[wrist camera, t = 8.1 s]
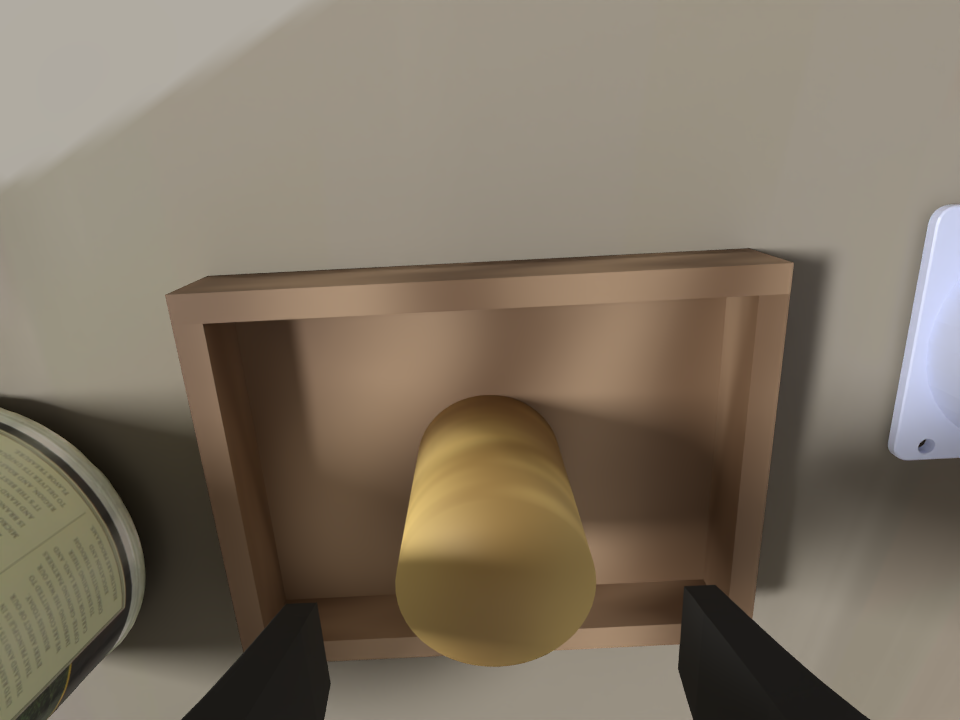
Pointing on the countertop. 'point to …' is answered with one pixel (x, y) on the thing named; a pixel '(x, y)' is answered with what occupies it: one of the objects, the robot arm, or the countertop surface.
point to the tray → (473, 372)
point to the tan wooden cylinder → (493, 538)
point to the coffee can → (59, 568)
